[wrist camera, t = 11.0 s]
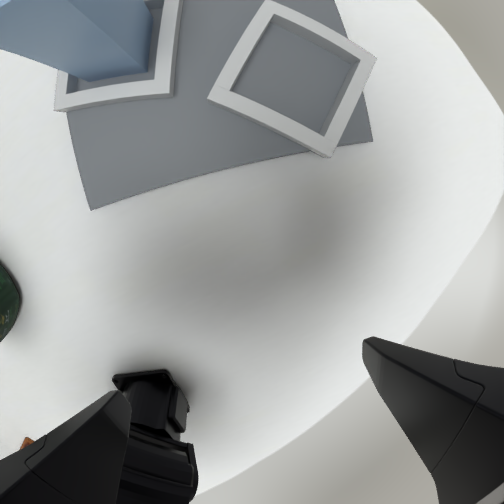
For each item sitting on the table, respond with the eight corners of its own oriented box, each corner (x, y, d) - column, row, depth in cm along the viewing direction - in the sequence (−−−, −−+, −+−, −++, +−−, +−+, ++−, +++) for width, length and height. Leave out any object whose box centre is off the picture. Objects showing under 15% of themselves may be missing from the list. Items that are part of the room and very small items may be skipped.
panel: (96, 215, 19) (81, 224, 17) (61, 31, 13) (47, 23, 11) (379, 147, 19) (396, 148, 17) (326, -30, 13) (336, -44, 11)
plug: (147, 72, 15) (44, -17, 3) (89, 82, 15) (-43, 37, 3) (155, 10, 13) (92, -103, 1) (98, 21, 13) (2, -57, 1)
